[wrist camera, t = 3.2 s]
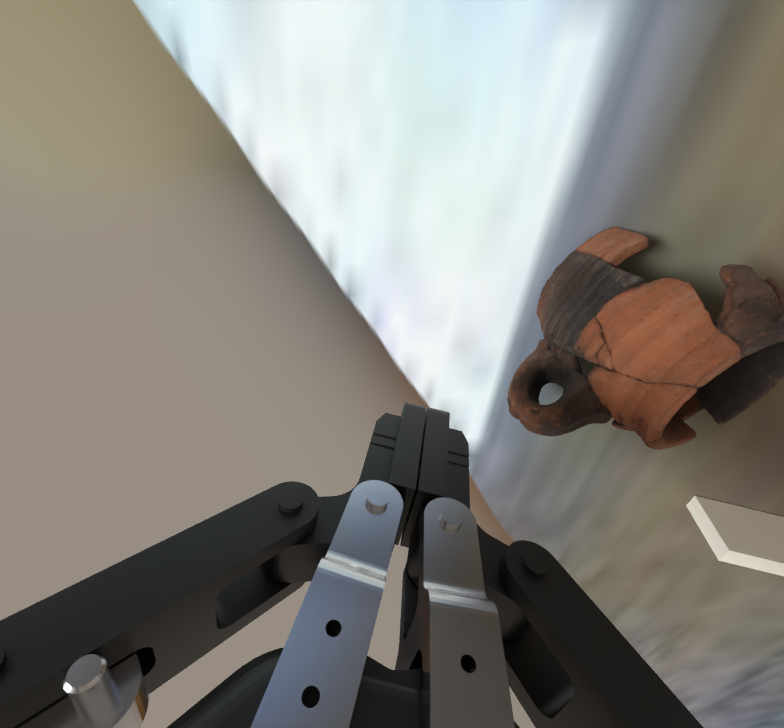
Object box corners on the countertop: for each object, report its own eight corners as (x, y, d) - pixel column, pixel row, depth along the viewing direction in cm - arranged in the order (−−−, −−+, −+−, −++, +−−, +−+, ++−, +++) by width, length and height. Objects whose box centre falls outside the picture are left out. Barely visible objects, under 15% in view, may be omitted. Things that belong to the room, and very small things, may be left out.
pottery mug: (668, 165, 18) (878, 255, 13) (669, 292, 25) (806, 387, 19) (446, 325, 20) (542, 462, 15) (504, 402, 27) (584, 515, 21)
